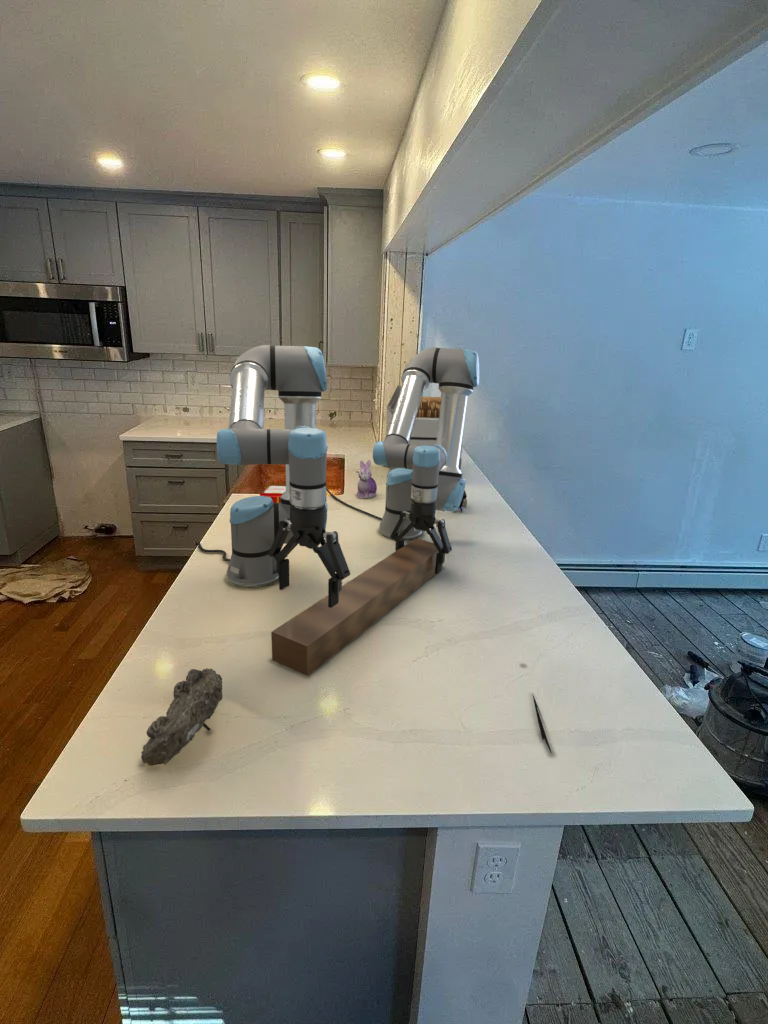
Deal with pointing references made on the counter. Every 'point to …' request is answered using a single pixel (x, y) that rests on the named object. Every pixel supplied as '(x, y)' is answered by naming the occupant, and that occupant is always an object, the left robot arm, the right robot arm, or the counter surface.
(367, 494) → the figurine
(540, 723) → the feather
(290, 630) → the thick board
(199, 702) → the fossil
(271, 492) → the toy
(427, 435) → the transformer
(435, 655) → the counter surface
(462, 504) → the figurine character
